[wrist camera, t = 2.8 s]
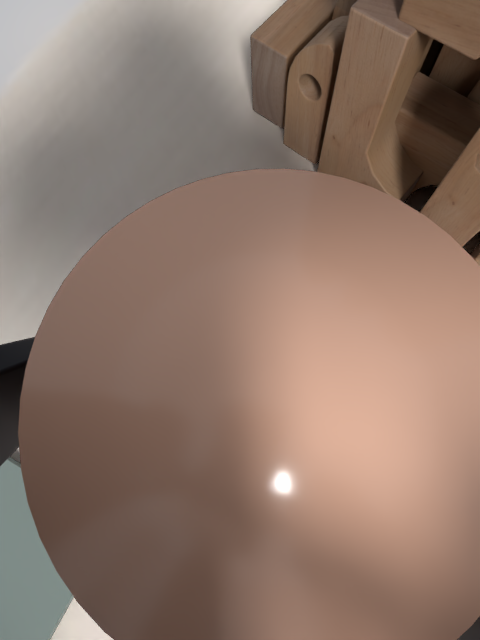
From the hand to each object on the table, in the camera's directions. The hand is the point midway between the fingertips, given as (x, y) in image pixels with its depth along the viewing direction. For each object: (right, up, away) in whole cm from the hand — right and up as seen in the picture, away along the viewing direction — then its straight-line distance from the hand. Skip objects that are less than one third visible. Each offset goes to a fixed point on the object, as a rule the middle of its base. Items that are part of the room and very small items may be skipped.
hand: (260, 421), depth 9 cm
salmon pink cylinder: (+1, -2, +8) cm, 8 cm away
